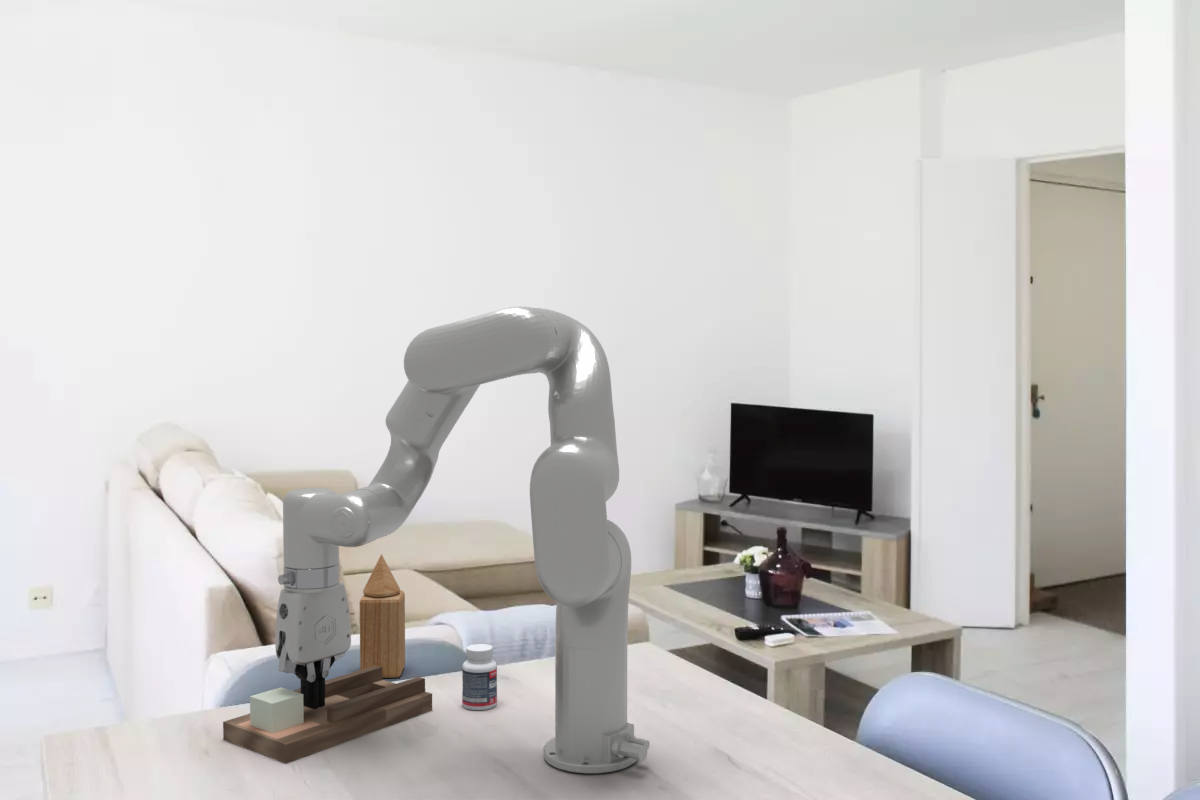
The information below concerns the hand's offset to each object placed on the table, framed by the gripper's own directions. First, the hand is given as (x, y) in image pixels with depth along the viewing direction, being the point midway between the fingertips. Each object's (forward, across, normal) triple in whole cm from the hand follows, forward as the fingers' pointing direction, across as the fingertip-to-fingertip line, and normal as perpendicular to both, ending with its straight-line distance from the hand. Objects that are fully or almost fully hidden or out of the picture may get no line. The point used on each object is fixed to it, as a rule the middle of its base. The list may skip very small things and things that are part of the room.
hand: (313, 705), depth 151 cm
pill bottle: (+4, +22, -11) cm, 25 cm away
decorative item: (+4, +24, +13) cm, 28 cm away
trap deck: (+4, +3, 0) cm, 5 cm away
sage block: (+1, -6, 0) cm, 6 cm away
